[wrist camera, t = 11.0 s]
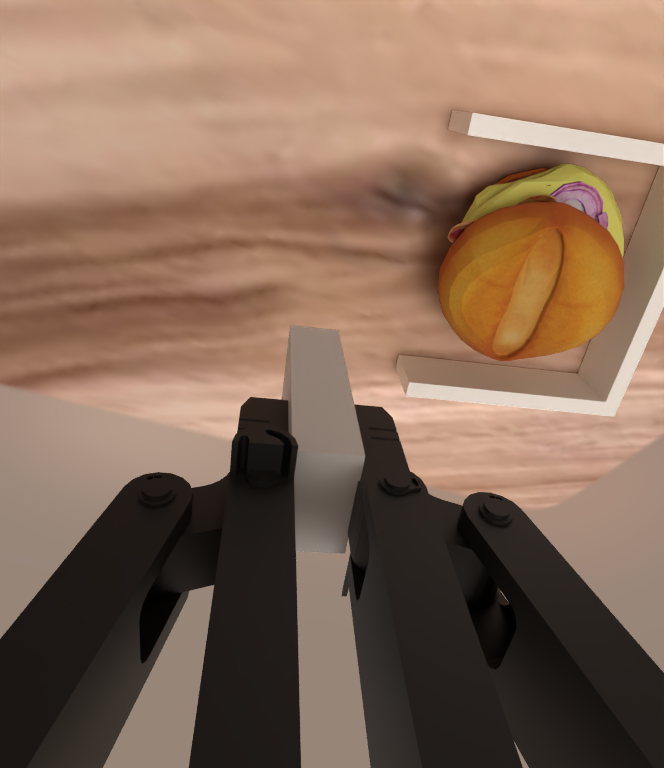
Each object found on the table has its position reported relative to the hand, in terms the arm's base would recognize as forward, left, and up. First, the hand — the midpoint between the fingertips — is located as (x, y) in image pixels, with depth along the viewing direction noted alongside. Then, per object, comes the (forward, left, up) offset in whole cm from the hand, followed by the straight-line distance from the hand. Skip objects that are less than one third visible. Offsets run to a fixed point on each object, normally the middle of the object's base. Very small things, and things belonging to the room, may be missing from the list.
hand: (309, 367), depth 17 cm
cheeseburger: (+11, +7, -18) cm, 22 cm away
